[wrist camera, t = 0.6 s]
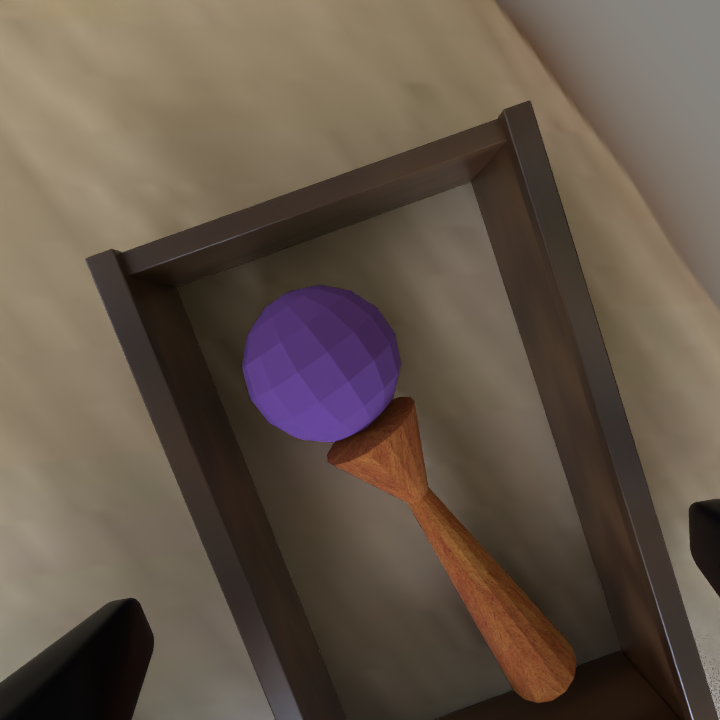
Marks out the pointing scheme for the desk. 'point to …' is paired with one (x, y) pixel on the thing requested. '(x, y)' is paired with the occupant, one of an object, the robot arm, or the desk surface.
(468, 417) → the desk surface
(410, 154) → the wooden tray
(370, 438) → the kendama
